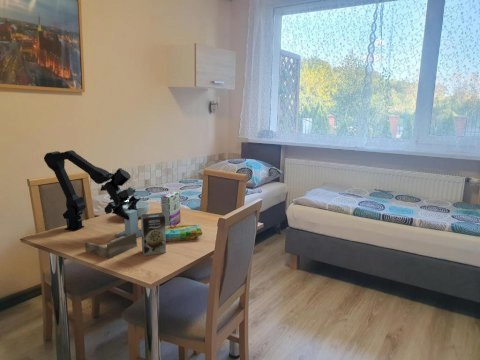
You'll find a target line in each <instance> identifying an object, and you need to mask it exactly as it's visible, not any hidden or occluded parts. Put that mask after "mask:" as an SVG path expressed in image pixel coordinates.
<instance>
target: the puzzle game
mask: <svg viewBox="0 0 480 360" xmlns="http://www.w3.org/2000/svg"><path fill="white" fill-rule="evenodd" d="M202 235H203V231H202V228H201V226H200V224H181V225H180V224H176V225H175V226H174V225H172V226H165V236H166V242H175V241H177V242H178V241H187V240H188V241H189V240H190V241H191V239H192V240H194V239H195V238H196V237H201V236H202Z"/></svg>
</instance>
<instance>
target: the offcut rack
mask: <svg viewBox="0 0 480 360" xmlns="http://www.w3.org/2000/svg"><path fill="white" fill-rule="evenodd" d="M137 241H138V238H137V237H136V233H132V234H130V235H127V236H122V237H117V238H115V239H113V240H110V242H109V243H106V246H104V245H101V244H96V243H94V242H89V241H85V242H84V247H85V249H84V251H85V252H86V253H89V254H93V255H96V256H99V257H103V258H107V259H113V258H114V257H117V256H119V255H121V254H123V253H126V252H127V251H129V250H131V249H134V248H135V247H138V242H137Z"/></svg>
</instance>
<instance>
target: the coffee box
mask: <svg viewBox="0 0 480 360" xmlns="http://www.w3.org/2000/svg"><path fill="white" fill-rule="evenodd" d="M140 225H141V229H140V230H142V236H141V251H142V253H143V256H152V255H160V254H164V253H167V252H166V251H167V248H166V247H167V246H166V245H167V244H166V242H167V241H166V236H165V216H164V214H163V213H162V212H156V213H155V212H153V213H146V214H141V217H140Z"/></svg>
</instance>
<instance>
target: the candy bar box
mask: <svg viewBox="0 0 480 360" xmlns="http://www.w3.org/2000/svg"><path fill="white" fill-rule="evenodd" d="M180 196H181V195H180V192H179V191H170V192H168V193H165V194H164V195H161V196H160V205H161V213H163V214H164V216H165V226H172V225H174V226H177V225H179V223H181V204H180V203H181V200H180V199H181V198H180Z"/></svg>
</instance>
